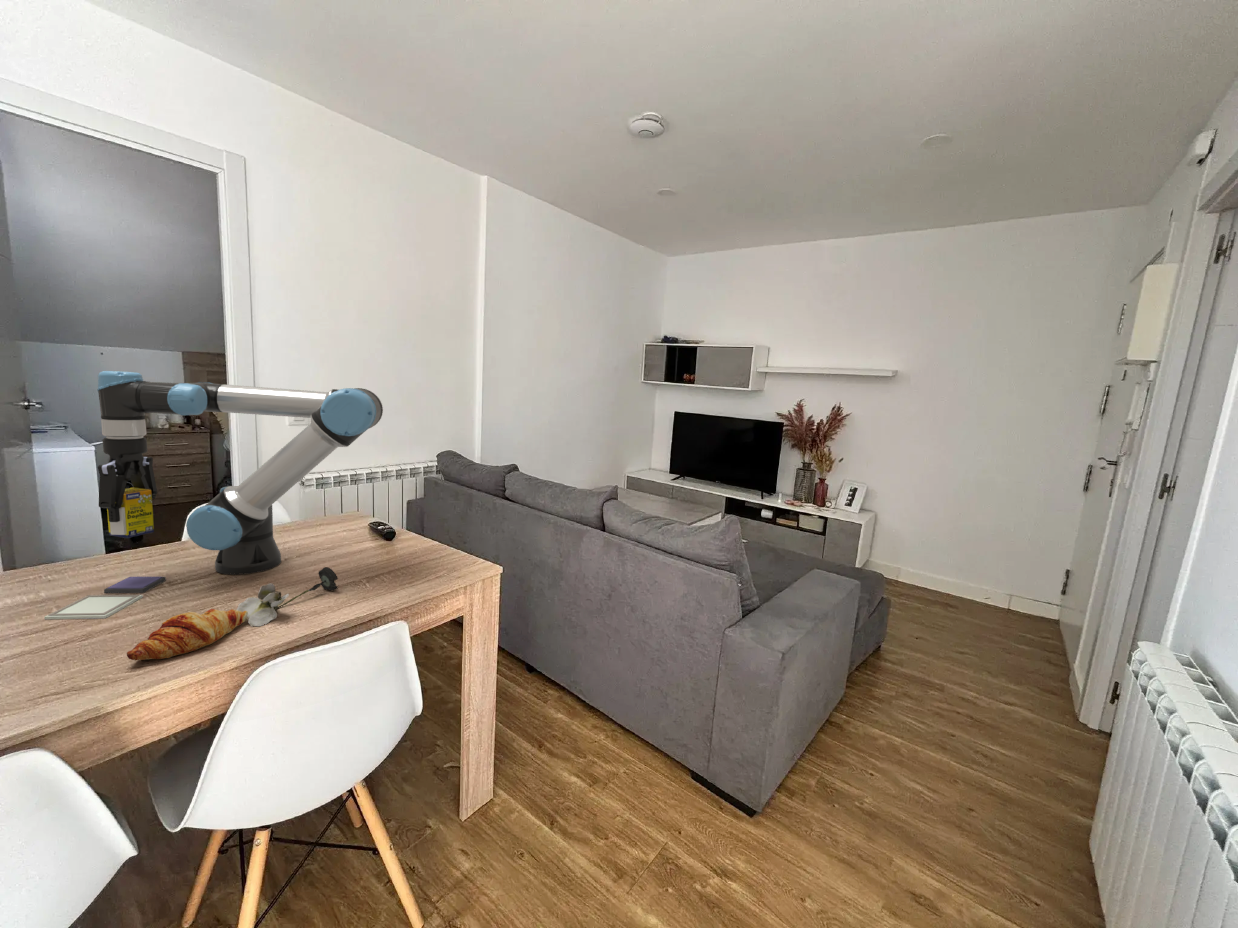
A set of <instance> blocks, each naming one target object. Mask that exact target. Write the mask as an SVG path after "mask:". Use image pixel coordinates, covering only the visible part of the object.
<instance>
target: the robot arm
mask: <svg viewBox="0 0 1238 928" xmlns="http://www.w3.org/2000/svg"><path fill="white" fill-rule="evenodd" d="M97 392H98V400H99V409H100V421H101V434H102V436H103V438H102V450H103V451H102V452H103V454H107V455H108V456H109V460H108V463H106V464H98V465H97V469H98V473H99V481H98V482H99V483H98V485H99V488H98V507H99V508H102V509H106V510H107V509H108V515H107V517H108V516H109V521H110V531H111V535H125V534H127V531H126V519H125V507H121V505H122V501H123V494H124V492H125V489H127V488H126V486H127V483H128V481H129V480H130V482H131V484H132V488H133V487H134V488H141V489H148V490H151V493H152V500H154V499H156V497H157V496H156V495H157V494H158V490H157V484H156V478H155V472H154V467H153V462H154V459H153V457H152V456H143V454H145V453H147V452H148V440H147V438H146V437H144V436H146V435H147V434H148V433H147V425H146V414H163V415H180V416H198V415H201V414H203V413H204V412H209V413H210V412H212V413H228V414H229V413H230V414H243V415H244V414H246V415H260V416H276V417H289V418H290V417H291V418H305V419H308V418H309V419H310V423H309V425H306V427H305V428H303V430H301V431H300V432H299V433H298V434H296V436H294V437H293V438H292V439H291V440H290V441H288V442H287V443H286V444H285V445H284V446H283V447H282V448H281V449H280V450H278V451H277V452H276V453H274V455H272V456H271V457H270V458H269V459H267V461H265V462H264V463H263V464H262V465H261V466H260V467H258V468H257V469H256V470H254V472H253V473H251V474H250V475H249V476H248V477H247V478H246V479H244V480H243V481H242V482H241V483H240V484H238V485H235V486H234V485H228V486H224V487H221V488H220V490H219V493H218V494H217V495H216V496H215V497H213V498H212V499H211V500H210V501H209V502H207V503H206V504H205V505H202V506H199V507H198V508H196V509H195V510H194V511H193V512H192V513H190V515H189V516H188V518H187V521H186V525H185V526H186V533H187V535H188V537H189V538H190V540H191V541H192V542H193V543H194V544H195V545H197V546H198V547H199V548H202V549H205V550H208V551H218V552H217V554H216V557H215V561H214V566H215V567H214V569H215V571H216V573H220V574H222V575H232V576H233V575H234V576H235V575H236V576H237V575H248V574H255V573H260V572H264V571H268V570H271V569H273V568H276V567H277V566H279V565H280V564H281V563H282V553H281V551H280V548H279V546H278V544H277V543H276V540H275V538H274V520H273V518H274V517H273V513H274V512H273V504H275V502H277V501H278V500H279V499H281V497H282V496H284V495H285V494H286V493H287V492H289V490H290V489H292V488H293V487H294V486H295V485H296V484H298V483H299V481H301V480H302V479H303V478H305V477H306V476H307V475H308V474H309V473H310V472H311V471H313V469H315V468H316V466H318V465H319V464H320V463H322V462H323V461H324V460H325V459H326V458H327V457H328V456H330V455H331V454H332V453H333V452H334V451H335V450H337V448H348V447H349V446H350V445H351V444H353V443H354V442H355V441H356V440H358V438H360V437H361V436H362V435H363V434H364V433H365V432H367V430H369V429H371V428H374V427H375V426H376V425H377V424H378V423H379V422H380V421H381V419H382V416H383V412H384V409H383V408H384V407H383V403H382V400H381V399H380V398H379V397H378V396H377V394H375V393H374V392H372V391H371V390H369V389H366V388H359V387H357V388H356V387H355V388H351V387H350V388H347V387H346V388H345V387H344V388H341V389H337V388H336V389H335V388H334V389H333V388H331V389H330V390H329V391H315V390H300V389H289V388H288V389H287V388H277V387H275V388H274V387H263V386H251V385H250V386H249V385H237V384H236V385H234V384H221V383H212V382H209V381H207V382H206V381H204V382H203V381H198V382H158V381H157V382H155V381H152V382H151V381H146V380H144V379H143V375H142V374H141V373H140V372H136V371H135V372H133V371H118V370H117V371H115V370H102V371H99V373H98V375H97ZM115 502H116V503H115ZM111 535H110V536H111Z"/></svg>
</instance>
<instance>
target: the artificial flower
mask: <svg viewBox="0 0 1238 928" xmlns="http://www.w3.org/2000/svg"><path fill="white" fill-rule="evenodd" d="M317 574H318V576H319V579H320V582H319V583H316V584H314V585H313V586H312V587H311V588H309V589H307V590H303V592H301V593H300V594H298V595H295V596H294V597H292V598H291V599H289V600H288V601H286V602H285V600H286V599H288V597H289V596H290V594H289V593H287V594H283V596H282V593H281V591H278V590H276V587H275V584H274V583H270V582H269V583H267V584H265V585H261V586H260V588H259V591H258V593H257V597H247V598H245V600H244V601H242V602H240V603H238V606H237V607H236V610H238V611H241V612H243V611H247V612H248V614H247V619H248V622H247V623H248V624H249V625H250V627H253V626H254V627H263V626H265V625H267V624H268V623H270V622H271V621H273V620H275V619H277V616H278V613H277V611H276V610H278V609H280V608H282V607H283V606H286V605H288V603H291V602H293V601H295V600H296V599H297V598H298V597H301V596H302V595H304V594H306V593H307V592H312V591H316V590H317V589H318V588H320V586H321V587H322V589H324V590H325V589H327V590H328V591H331V590H333V591H337V590H338V589H339V588H340V587H339V586H340V585H337V583H336V581H337V580H338V579H339V578H338V575H337V574H336V572H335V571H334V570H333V569H332V568H330V567H328V566H324V567H323V568H322V569H320V570H319V571H318V573H317ZM281 606H282V607H281ZM279 607H280V608H279ZM277 608H278V609H277ZM264 624H265V625H264Z"/></svg>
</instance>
